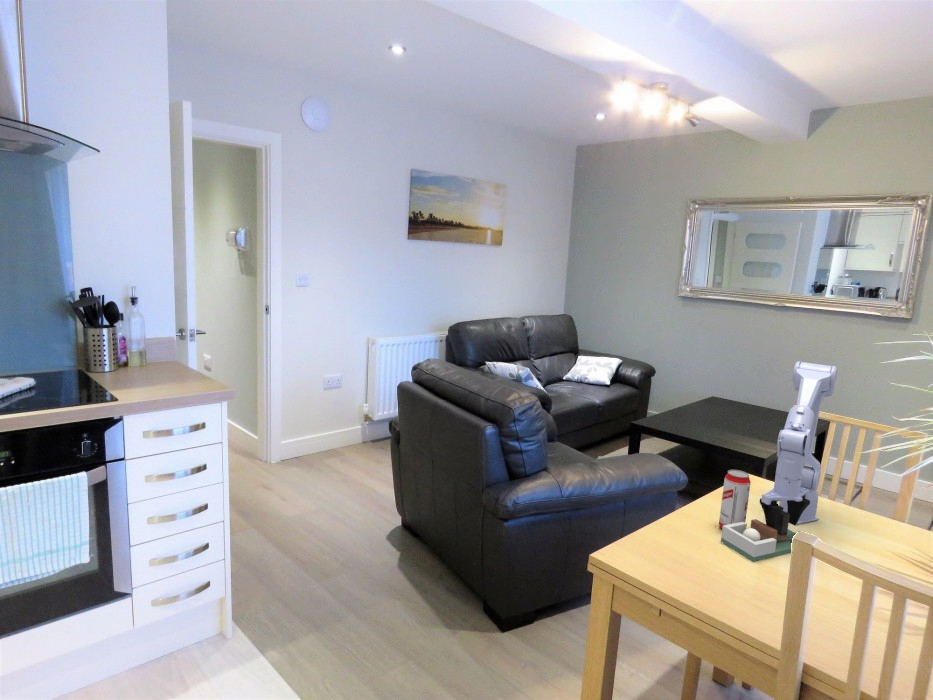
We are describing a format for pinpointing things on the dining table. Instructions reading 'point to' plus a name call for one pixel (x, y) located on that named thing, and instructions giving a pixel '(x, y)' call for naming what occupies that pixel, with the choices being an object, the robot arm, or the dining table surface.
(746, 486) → the beer can
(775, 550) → the pitch
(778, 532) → the slider
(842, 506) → the dining table surface
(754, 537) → the ball
